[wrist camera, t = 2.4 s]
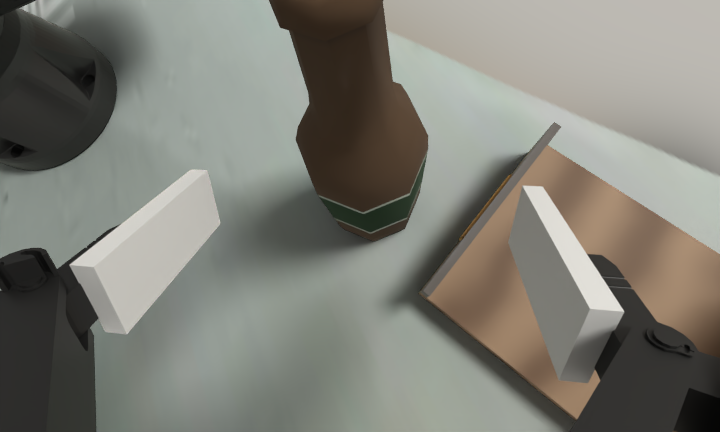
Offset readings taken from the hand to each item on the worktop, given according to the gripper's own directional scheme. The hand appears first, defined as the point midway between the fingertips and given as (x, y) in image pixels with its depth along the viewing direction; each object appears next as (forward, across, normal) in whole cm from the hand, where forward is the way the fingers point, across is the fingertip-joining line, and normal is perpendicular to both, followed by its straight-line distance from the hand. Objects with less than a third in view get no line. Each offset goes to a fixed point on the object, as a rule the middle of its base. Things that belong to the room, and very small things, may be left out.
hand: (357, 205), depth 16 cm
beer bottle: (+16, -1, -8) cm, 18 cm away
